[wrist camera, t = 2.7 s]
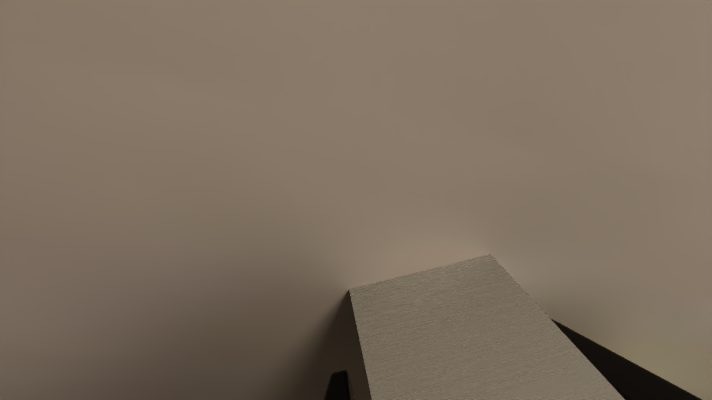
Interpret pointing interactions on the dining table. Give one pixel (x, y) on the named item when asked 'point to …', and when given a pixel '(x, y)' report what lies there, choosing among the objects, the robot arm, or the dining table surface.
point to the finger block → (467, 339)
